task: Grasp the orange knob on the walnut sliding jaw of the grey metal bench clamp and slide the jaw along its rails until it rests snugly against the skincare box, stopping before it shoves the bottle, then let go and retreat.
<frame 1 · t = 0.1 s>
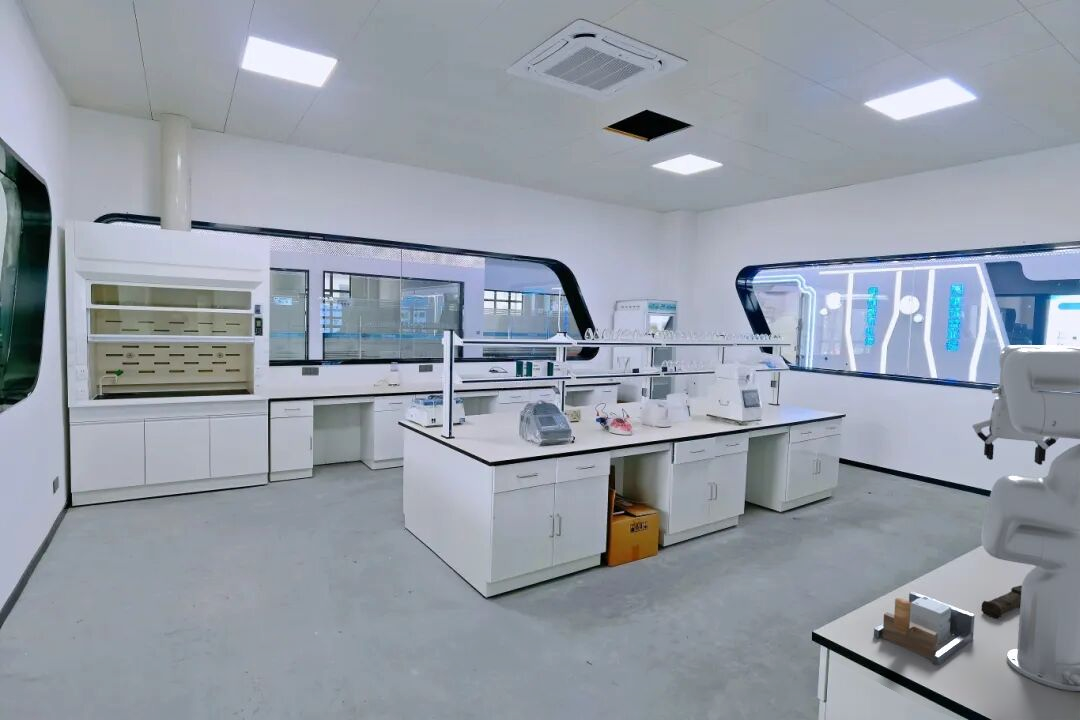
hand: (1013, 461, 140), 37 cm above the lab bench, tool pointing down, fingers open, 9 cm apart
skincare box: (928, 636, 127), on the lab bench
clamp frame: (920, 640, 124), on the lab bench
sliding jaw: (905, 625, 119), point 6 cm above the lab bench, slide at 0.0 cm
hand tool: (1006, 609, 140), on the lab bench
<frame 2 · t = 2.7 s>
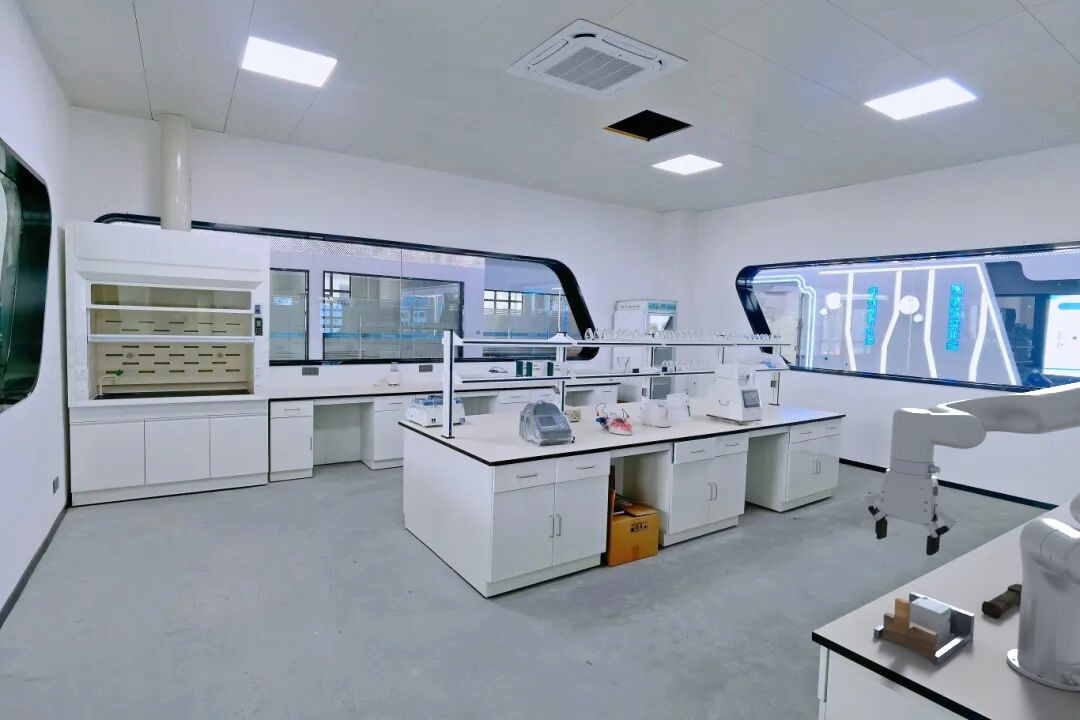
hand: (905, 545, 117), 24 cm above the lab bench, tool pointing down, fingers open, 9 cm apart
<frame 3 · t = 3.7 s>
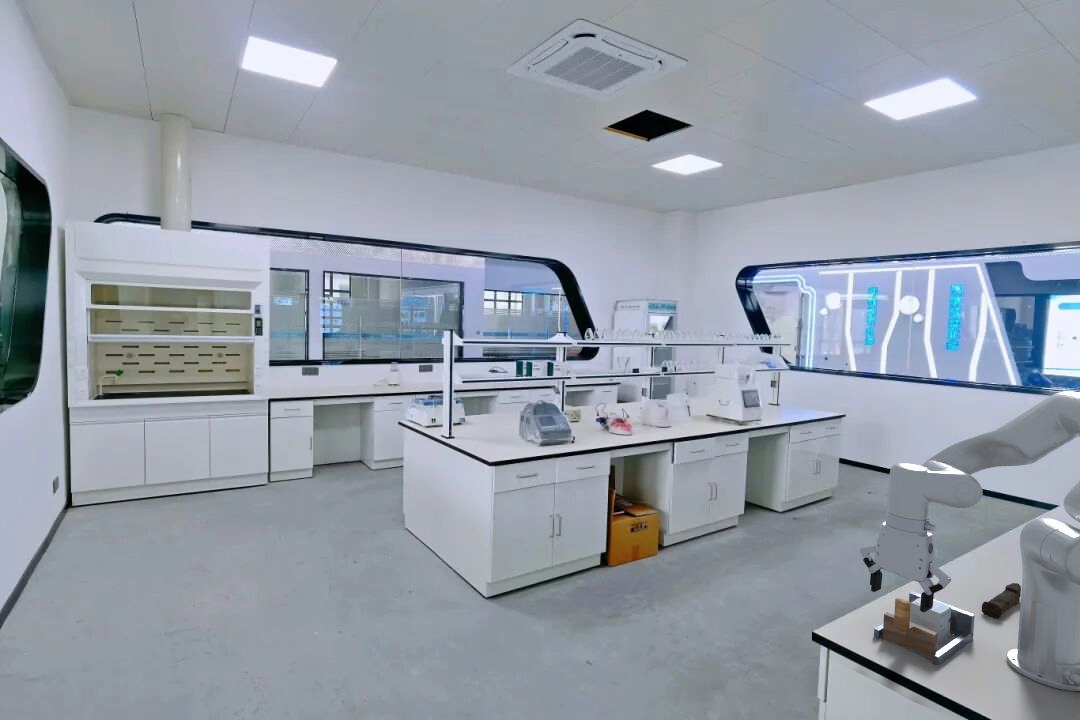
hand: (899, 600, 118), 12 cm above the lab bench, tool pointing down, fingers open, 9 cm apart
nothing on the lab bench moved.
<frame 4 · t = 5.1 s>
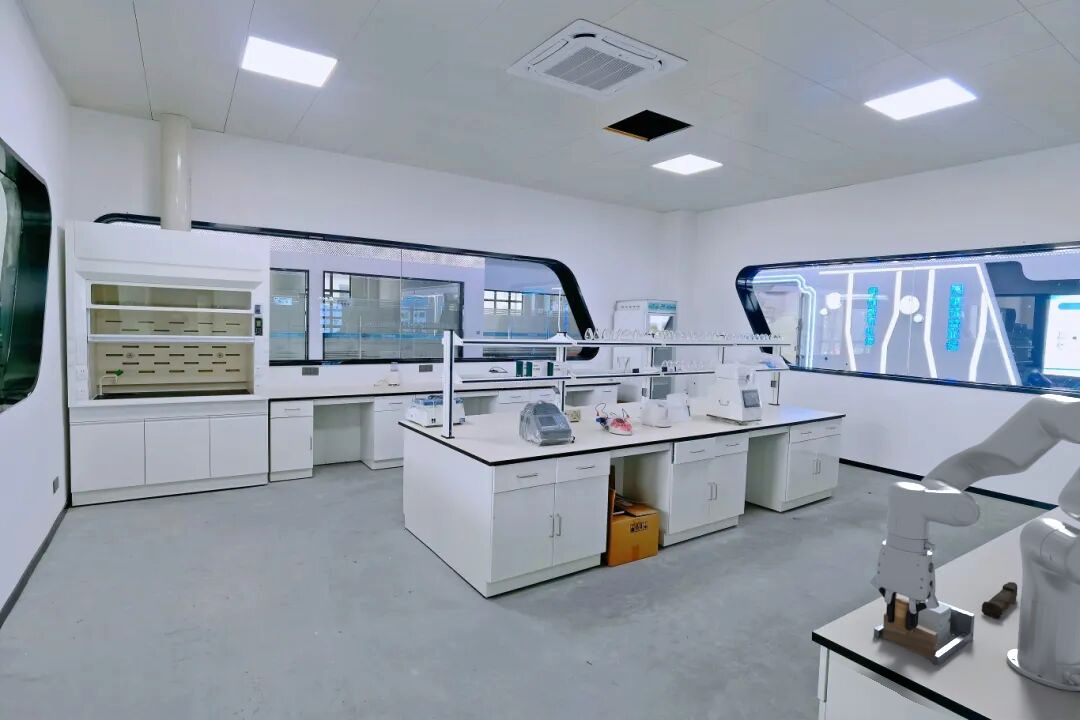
hand: (901, 623, 118), 7 cm above the lab bench, tool pointing down, fingers closed on sliding jaw, 2 cm apart
sliding jaw: (905, 625, 119), point 6 cm above the lab bench, slide at 0.0 cm, touching gripper
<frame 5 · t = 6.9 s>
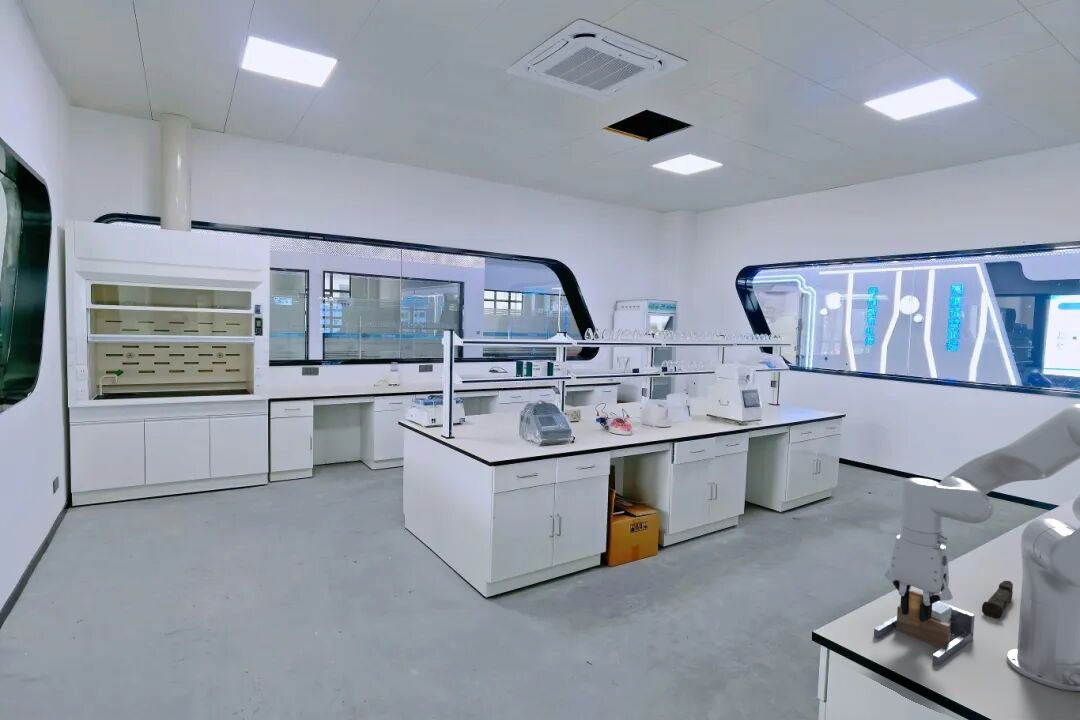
hand: (915, 615, 122), 7 cm above the lab bench, tool pointing down, fingers closed on sliding jaw, 2 cm apart
sliding jaw: (918, 616, 123), point 6 cm above the lab bench, slide at 6.5 cm, touching gripper
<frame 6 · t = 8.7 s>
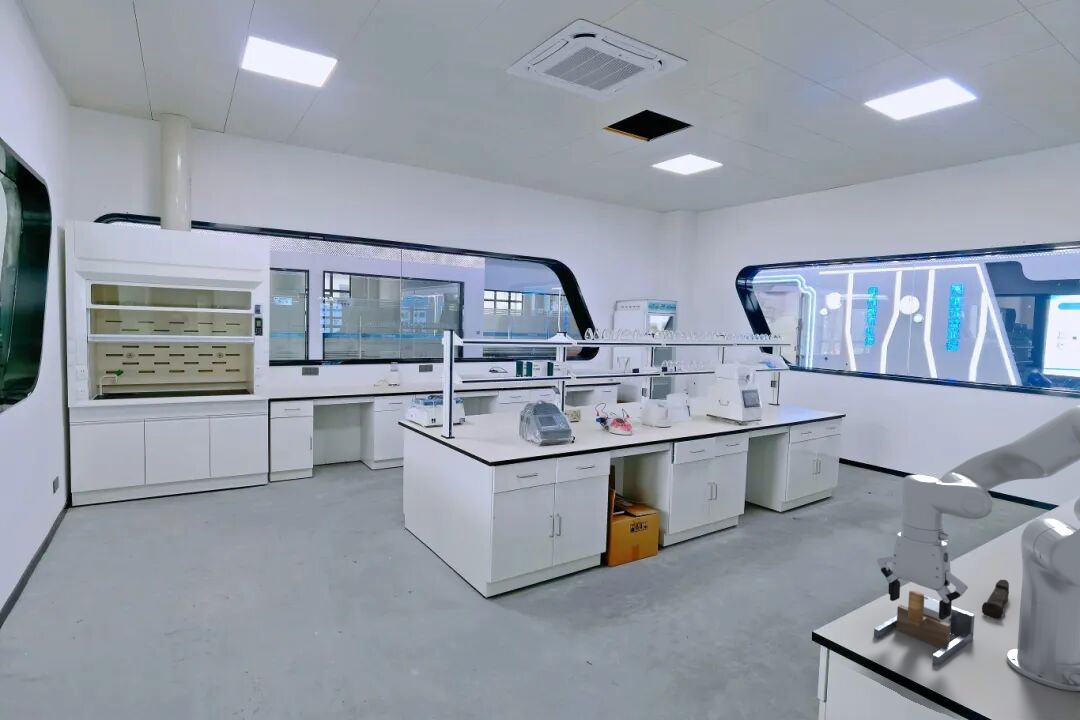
hand: (918, 608, 122), 9 cm above the lab bench, tool pointing down, fingers open, 9 cm apart
sliding jaw: (918, 616, 123), point 6 cm above the lab bench, slide at 6.5 cm
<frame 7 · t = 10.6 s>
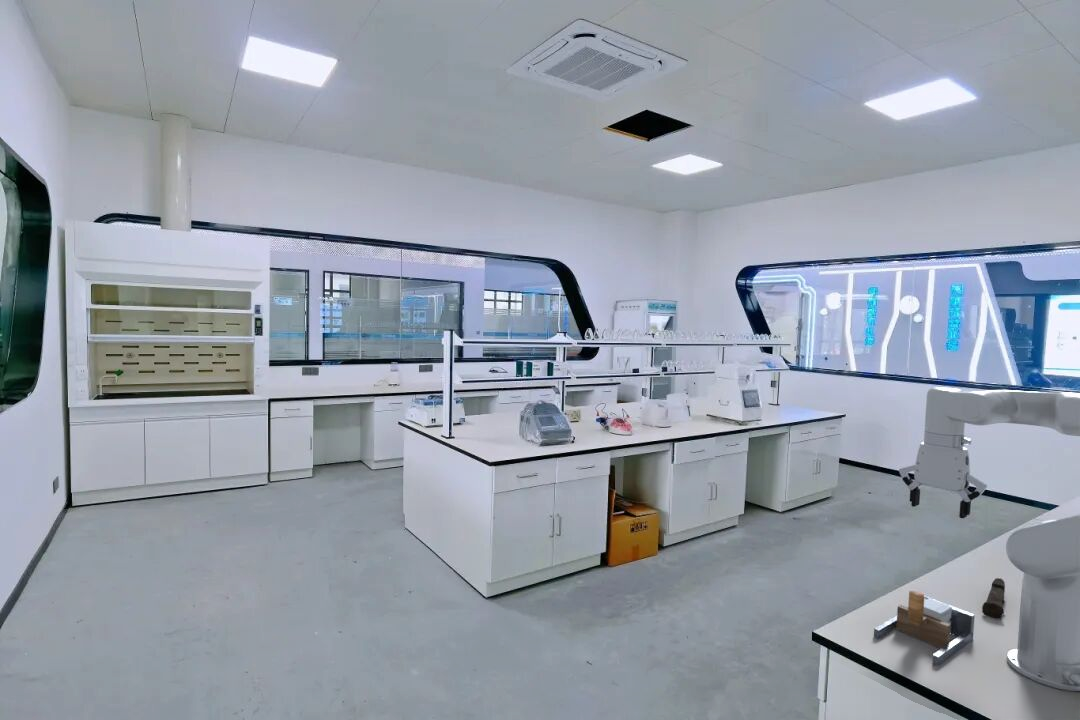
hand: (938, 511, 131), 27 cm above the lab bench, tool pointing down, fingers open, 9 cm apart
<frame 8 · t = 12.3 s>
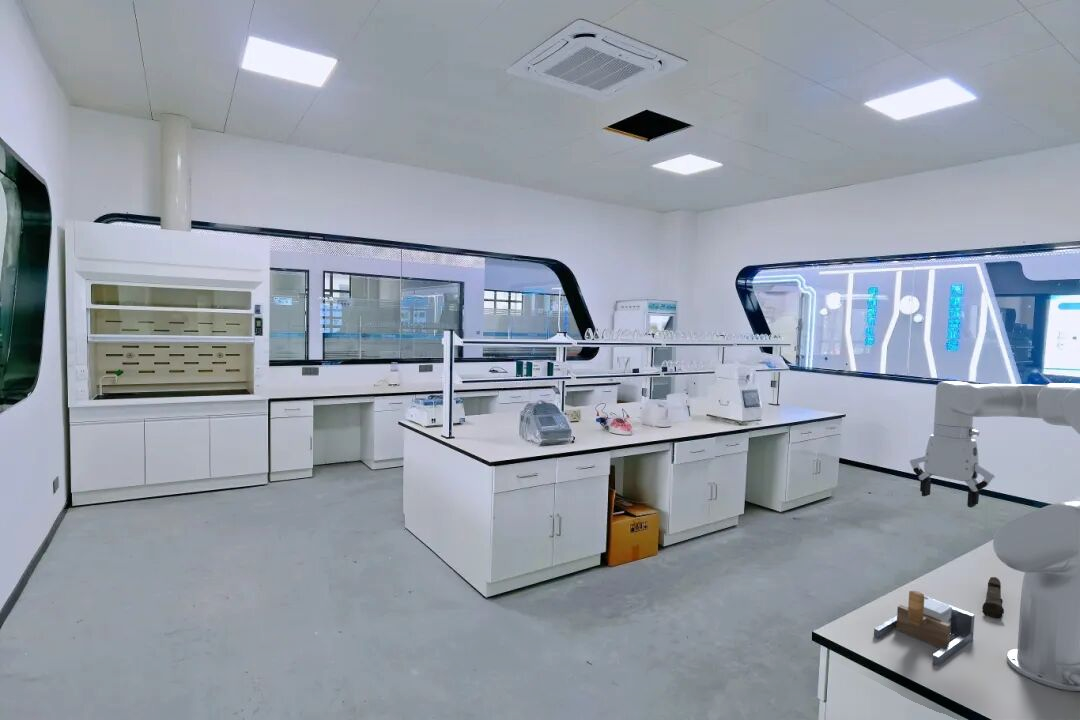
hand: (948, 500, 135), 28 cm above the lab bench, tool pointing down, fingers open, 9 cm apart
at the end: sliding jaw slide at 6.5 cm; skincare box moved 0.4 cm from its start; skincare box tilted 0° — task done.
